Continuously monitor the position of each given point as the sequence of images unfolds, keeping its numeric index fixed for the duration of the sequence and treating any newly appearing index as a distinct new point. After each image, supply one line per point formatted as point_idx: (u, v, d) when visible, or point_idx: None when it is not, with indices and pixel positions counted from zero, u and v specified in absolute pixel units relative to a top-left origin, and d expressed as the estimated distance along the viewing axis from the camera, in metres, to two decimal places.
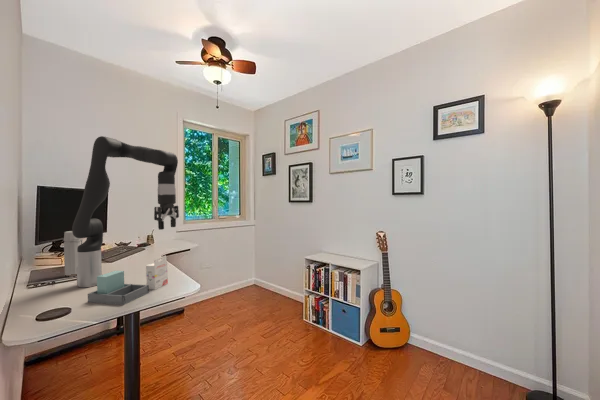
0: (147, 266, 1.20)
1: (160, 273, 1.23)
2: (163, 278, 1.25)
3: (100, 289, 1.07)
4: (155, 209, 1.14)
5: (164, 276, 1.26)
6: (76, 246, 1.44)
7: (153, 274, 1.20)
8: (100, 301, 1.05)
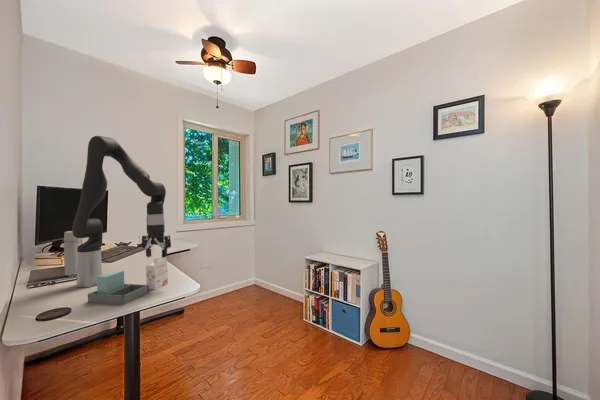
0: (147, 266, 1.20)
1: (160, 273, 1.23)
2: (163, 278, 1.25)
3: (100, 289, 1.07)
4: (167, 238, 1.22)
5: (164, 276, 1.25)
6: (76, 246, 1.44)
7: (153, 274, 1.20)
8: (100, 301, 1.05)
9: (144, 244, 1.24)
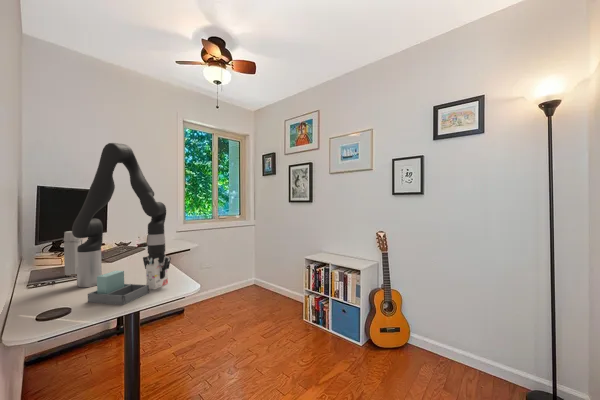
0: (147, 266, 1.20)
1: None
2: (163, 278, 1.25)
3: (100, 289, 1.07)
4: (167, 260, 1.22)
5: None
6: (76, 246, 1.44)
7: (153, 274, 1.20)
8: (100, 301, 1.05)
9: None
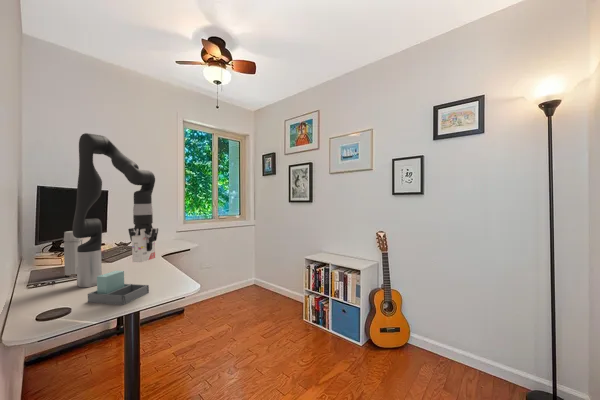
0: (133, 237, 1.14)
1: None
2: (150, 251, 1.18)
3: (100, 289, 1.07)
4: (155, 231, 1.16)
5: None
6: (76, 246, 1.44)
7: (139, 245, 1.13)
8: (100, 301, 1.05)
9: None
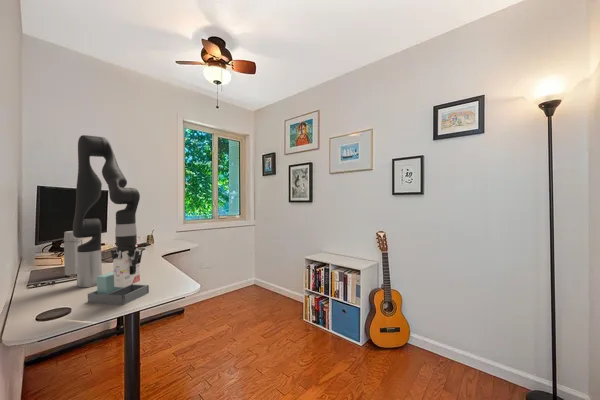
0: (114, 260, 1.06)
1: None
2: (133, 274, 1.10)
3: (100, 289, 1.07)
4: (138, 253, 1.08)
5: None
6: (76, 246, 1.44)
7: (121, 269, 1.05)
8: (100, 301, 1.05)
9: None
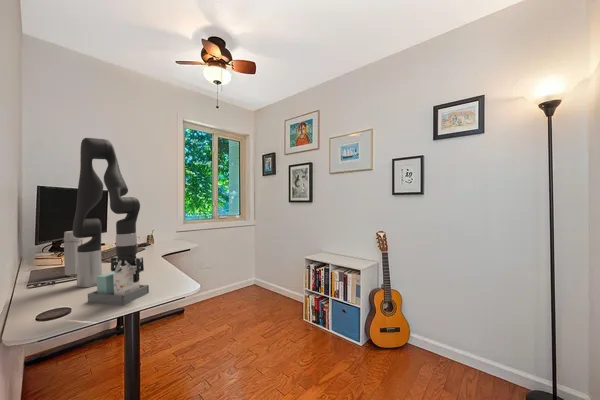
0: (114, 274, 1.06)
1: (130, 282, 1.09)
2: (133, 288, 1.10)
3: (100, 289, 1.07)
4: (139, 260, 1.08)
5: (135, 285, 1.11)
6: (76, 246, 1.44)
7: (121, 283, 1.05)
8: (100, 301, 1.05)
9: None
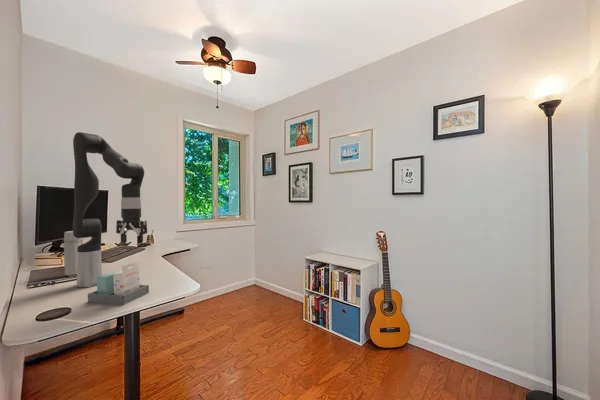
0: (114, 274, 1.06)
1: (130, 282, 1.09)
2: (133, 288, 1.10)
3: (100, 289, 1.07)
4: (143, 223, 1.13)
5: (135, 285, 1.11)
6: (76, 246, 1.44)
7: (121, 283, 1.05)
8: (100, 301, 1.05)
9: None
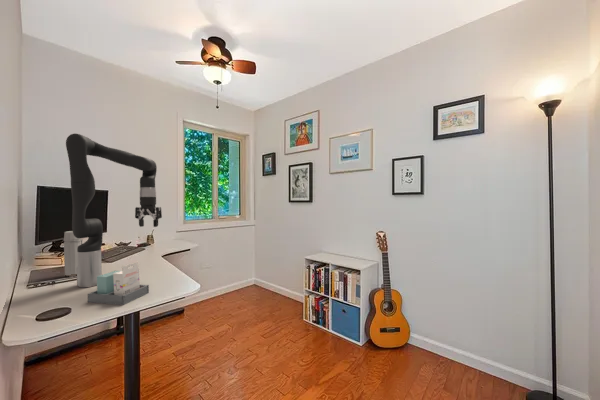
0: (114, 274, 1.06)
1: (130, 282, 1.09)
2: (133, 288, 1.10)
3: (100, 289, 1.07)
4: (158, 209, 1.34)
5: (135, 285, 1.11)
6: (76, 246, 1.44)
7: (121, 283, 1.05)
8: (100, 301, 1.05)
9: (137, 215, 1.36)
